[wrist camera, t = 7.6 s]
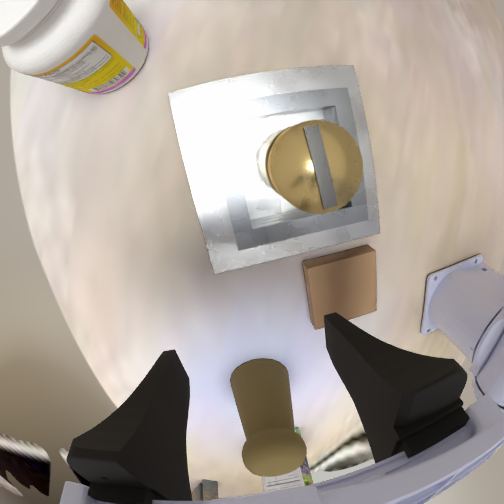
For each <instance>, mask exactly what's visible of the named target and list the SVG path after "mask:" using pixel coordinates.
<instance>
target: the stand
mask: <svg viewBox="0 0 504 504" xmlns="http://www.w3.org/2000/svg"><path fill="white" fill-rule="evenodd" d="M302 263H303V269H304V276H305V282H306V289H307V296H308V303H309V311H310V318H311V322H312V324H313V326H314V328H315V330H316V329H320V328H323V327H325V326H324V315H327V314H331V313H334V312H336V313H338V314H339V315H341V316H342V317H344V318H345V319H347V320H350V319H353V318H356V317H359V316H362V315H365V314H368V313H371V312H374V311H376V302H377V278H376V250H374V249H373V248H371V247H370V246H369V245H364V246H361V247H357V248H353V249H349V250H345V251H341V252H338V253H334V254H330V255H326V256H322V257H318V258H314V259H310V260H306V261H302Z"/></svg>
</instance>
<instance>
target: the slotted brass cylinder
mask: <svg viewBox="0 0 504 504" xmlns="http://www.w3.org/2000/svg"><path fill="white" fill-rule="evenodd" d="M258 163H259V170H260V173H261V176H262V178H263V180H264V181H265V182H266V184H267V185H268V186H269V187H270V188H271V189H273V190H274V191H275V192H276V193H278V194H279V195H280V196H281V197H283V198H284V199H285V200H286V201H288V202H289V203H290V204H291V205H293V206H294V207H296V208H298V209H300V210H302V211H305V212H308V213H313V214H325V213H330V212H333V211H335V210H338V209H339V208H341V207H343V206H344V205H346V204H347V203H348V202H349V201H350V200H351V199H352V198H353V196H354V195H355V193H356V192H357V190H358V188H359V186H360V183H361V180H362V175H363V160H362V155H361V152H360V149H359V147H358V145H357V143H356V141H355V140H354V138H353V137H352V136H351V135H350V134H349V133H348V132H347V131H346V130H345V129H344V128H342V127H341V126H339V125H337V124H335V123H333V122H329V121H326V120H309V121H305V122H302V123H299V124H296V125H293V126H290V127H287V128H285V129H282V130H279V131H277V132H275V133H274V134H272V135H271V136H270V137H269V138H268V139H267V140H266V141H265V142H264V144H263V146H262V148H261V150H260V153H259V161H258Z"/></svg>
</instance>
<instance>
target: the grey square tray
mask: <svg viewBox="0 0 504 504" xmlns="http://www.w3.org/2000/svg"><path fill="white" fill-rule="evenodd" d="M168 96H169V100H170V105H171V109H172V114H173V118H174V122H175V127H176V131H177V135H178V140H179V144H180V148H181V152H182V156H183V160H184V164H185V168H186V172H187V176H188V180H189V184H190V188H191V192H192V195H193V199H194V203H195V207H196V210H197V214H198V218H199V221H200V225H201V229H202V232H203V236H204V239H205V243H206V246H207V250H208V253H209V257H210V260H211V264H212V267H213V270H214V274H217V273H221V272H225V271H230V270H234V269H238V268H242V267H246V266H250V265H255V264H259V263H263V262H267V261H271V260H275V259H279V258H284V257H288V256H292V255H296V254H300V253H304V252H308V251H312V250H316V249H320V248H324V247H328V246H332V245H336V244H340V243H344V242H348V241H352V240H356V239H360V238H364V237H368V236H371V235H375V234H379V233H380V225H379V211H378V200H377V190H376V181H375V172H374V165H373V158H372V151H371V145H370V139H369V133H368V127H367V122H366V117H365V112H364V107H363V102H362V98H361V93H360V89H359V85H358V81H357V77H356V73H355V69H354V65H339V66H316V67H303V68H292V69H283V70H275V71H267V72H260V73H254V74H248V75H242V76H237V77H232V78H227V79H222V80H217V81H213V82H208V83H204V84H200V85H196V86H192V87H188V88H185V89H181V90H178V91H174V92H171V93H168ZM309 120H326V121H329V122H333V123H335V124H337V125H339V126H341V127H342V128H344V129H345V130H346V131H347V132H348V133H349V134H350V135H351V136H352V137H353V138H354V140H355V141H356V143H357V145H358V147H359V149H360V152H361V155H362V160H363V175H362V180H361V183H360V186H359V188H358V190H357V192H356V193H355V195H354V196H353V198H352V199H351V200H350V201H349V202H348V203H347V204H346V205H344V206H343V207H341V208H339V209H338V210H335V211H333V212H330V213H325V214H313V213H308V212H305V211H302V210H300V209H298V208H296V207H294V206H293V205H291V204H290V203H289V202H288V201H286V200H285V199H284V198H283V197H281V196H280V195H279V194H278V193H276V192H275V191H274V190H273V189H271V188H270V187H269V186H268V185H267V184H266V182H265V181H264V180H263V178H262V176H261V173H260V170H259V163H258V161H259V153H260V150H261V148H262V146H263V144H264V142H265V141H266V140H267V139H268V138H269V137H270V136H271V135H272V134H274V133H275V132H277V131H279V130H282V129H285V128H287V127H290V126H293V125H296V124H299V123H302V122H305V121H309Z"/></svg>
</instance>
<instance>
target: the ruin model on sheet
mask: <svg viewBox="0 0 504 504" xmlns="http://www.w3.org/2000/svg"><path fill="white" fill-rule="evenodd" d="M202 482H203V495H202V484H201V483H200V484H199V485H198V486H197V488H196V489H195V490H194V491H193V492H192V493H191V495H192V500H193V501H207V500H212V499H218V484H217V481H211V480H202Z"/></svg>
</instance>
